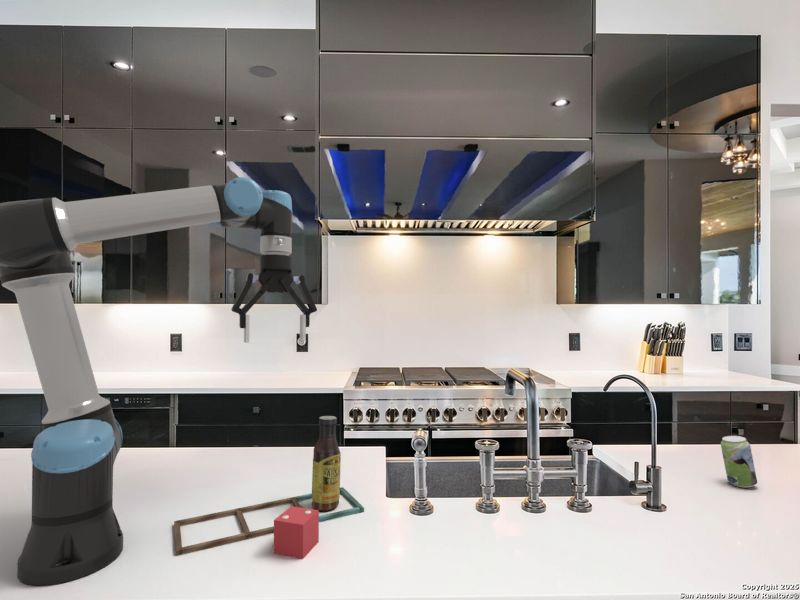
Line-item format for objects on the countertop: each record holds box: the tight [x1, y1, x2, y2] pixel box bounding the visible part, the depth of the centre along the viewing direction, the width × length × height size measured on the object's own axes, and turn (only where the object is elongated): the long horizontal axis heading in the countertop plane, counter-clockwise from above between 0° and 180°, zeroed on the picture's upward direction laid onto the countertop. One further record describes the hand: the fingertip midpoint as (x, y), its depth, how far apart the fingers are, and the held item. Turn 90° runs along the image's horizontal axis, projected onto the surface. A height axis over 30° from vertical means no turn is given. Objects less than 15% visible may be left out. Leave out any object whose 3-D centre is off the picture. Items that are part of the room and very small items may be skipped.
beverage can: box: [720, 435, 758, 489], centre depth 112 cm, size 6×7×12 cm
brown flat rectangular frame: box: [173, 486, 365, 556], centre depth 95 cm, size 37×13×1 cm, turn 118°
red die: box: [273, 505, 320, 559], centre depth 83 cm, size 6×6×6 cm
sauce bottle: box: [311, 415, 342, 512], centre depth 101 cm, size 7×6×20 cm
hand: (275, 341), depth 109 cm, fingers open, 13 cm apart
